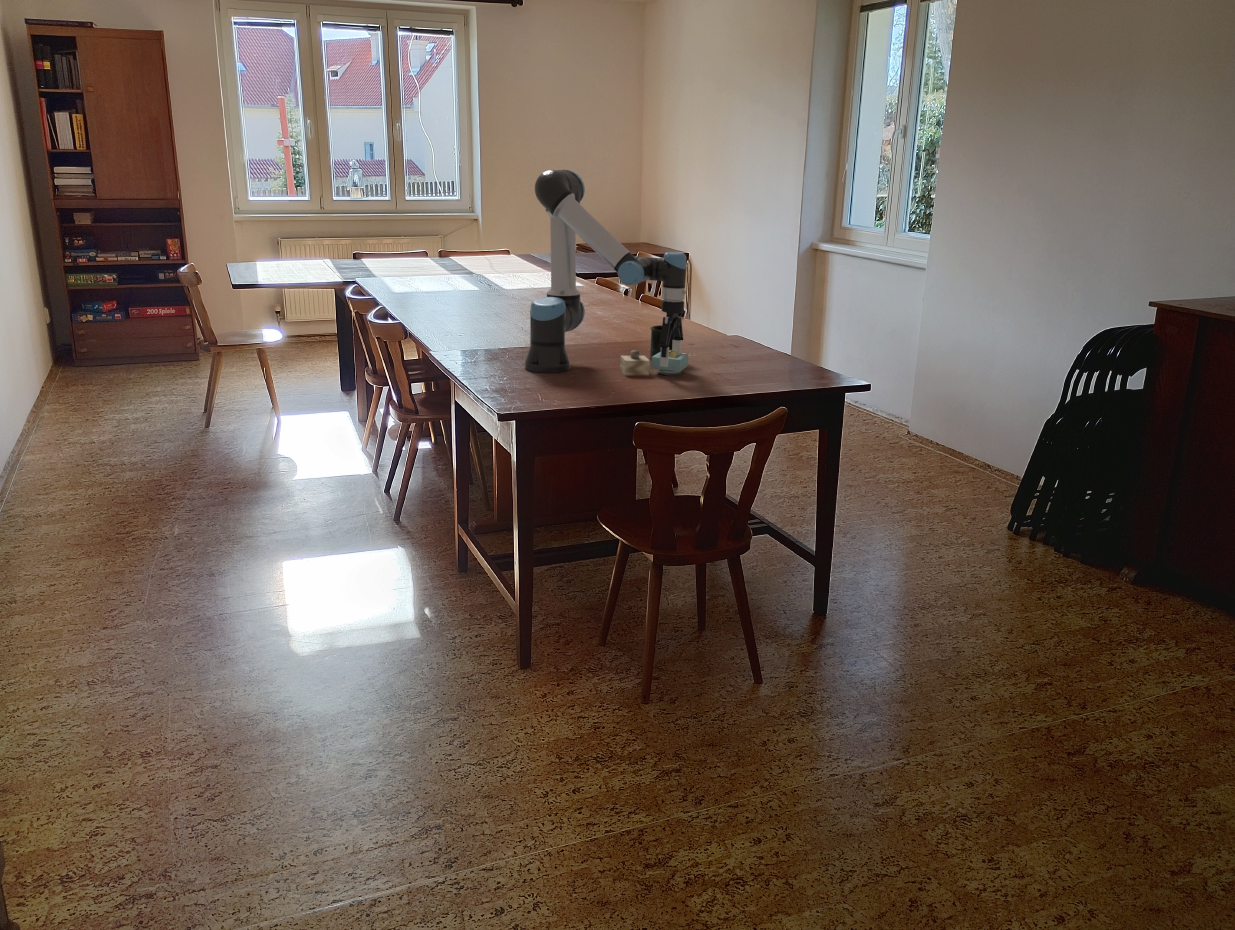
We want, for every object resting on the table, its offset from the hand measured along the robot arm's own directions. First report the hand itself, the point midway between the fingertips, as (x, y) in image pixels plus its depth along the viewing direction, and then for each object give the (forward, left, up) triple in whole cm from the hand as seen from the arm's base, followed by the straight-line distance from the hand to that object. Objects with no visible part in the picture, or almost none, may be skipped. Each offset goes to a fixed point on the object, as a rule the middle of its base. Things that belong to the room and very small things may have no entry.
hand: (669, 362), depth 321 cm
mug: (+2, +21, -4) cm, 21 cm away
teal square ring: (0, 0, -2) cm, 2 cm away
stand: (-12, +1, -4) cm, 13 cm away
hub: (0, 0, -4) cm, 4 cm away
